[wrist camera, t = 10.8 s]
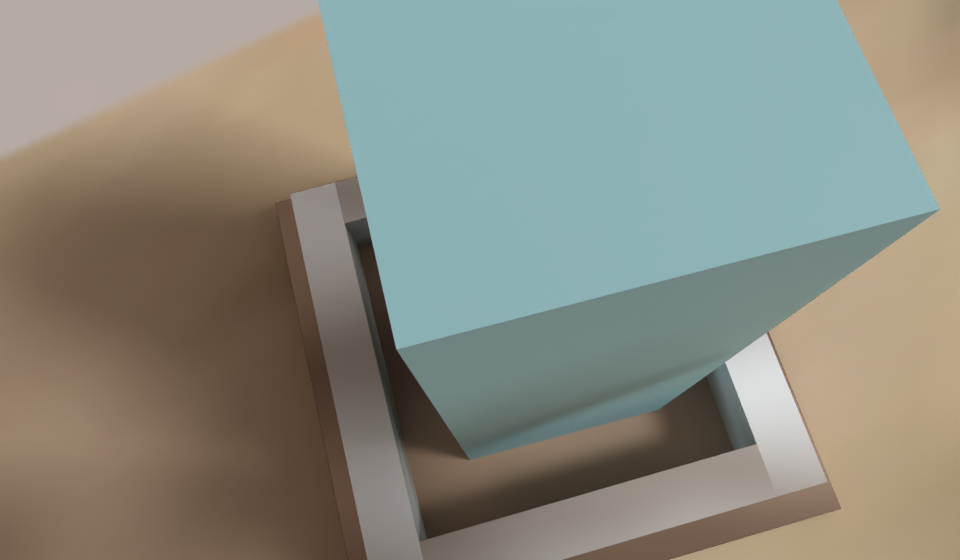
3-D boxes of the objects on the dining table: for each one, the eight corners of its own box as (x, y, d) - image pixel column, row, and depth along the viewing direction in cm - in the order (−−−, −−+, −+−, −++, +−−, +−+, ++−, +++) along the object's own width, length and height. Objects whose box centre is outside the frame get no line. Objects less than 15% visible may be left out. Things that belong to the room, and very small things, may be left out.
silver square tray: (827, 509, 19) (876, 507, 16) (372, 643, 18) (350, 663, 16) (667, 112, 22) (686, 62, 20) (283, 213, 22) (254, 175, 19)
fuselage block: (658, 410, 19) (940, 209, 7) (469, 459, 19) (396, 350, 6) (600, 235, 20) (740, -195, 8) (425, 279, 20) (297, -92, 8)
